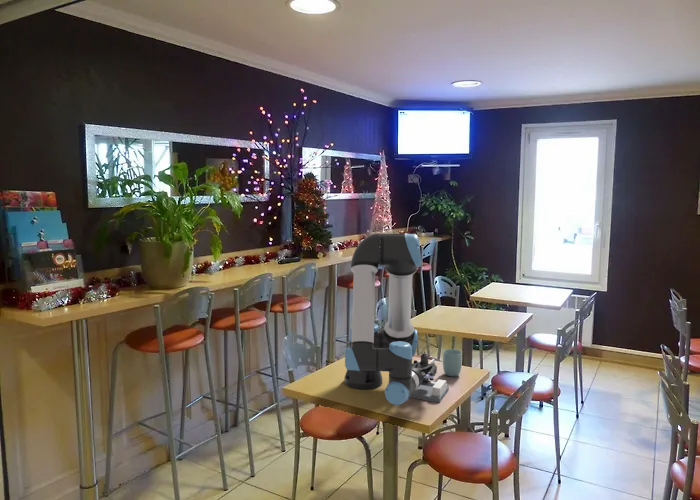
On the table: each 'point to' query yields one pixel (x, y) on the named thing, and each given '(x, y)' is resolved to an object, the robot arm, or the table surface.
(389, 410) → the table surface
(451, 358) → the cup
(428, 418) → the table surface
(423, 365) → the salt shaker
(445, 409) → the table surface
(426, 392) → the rail board
